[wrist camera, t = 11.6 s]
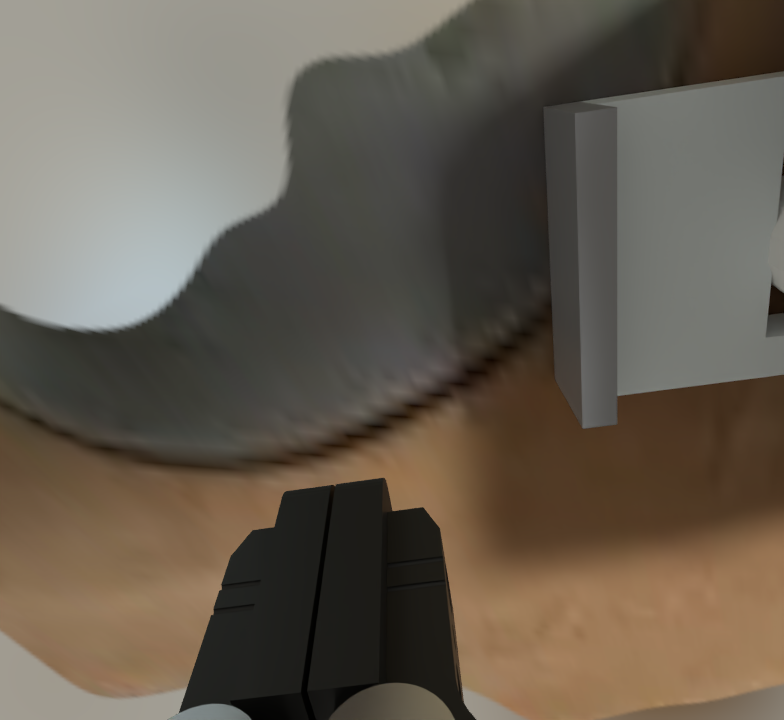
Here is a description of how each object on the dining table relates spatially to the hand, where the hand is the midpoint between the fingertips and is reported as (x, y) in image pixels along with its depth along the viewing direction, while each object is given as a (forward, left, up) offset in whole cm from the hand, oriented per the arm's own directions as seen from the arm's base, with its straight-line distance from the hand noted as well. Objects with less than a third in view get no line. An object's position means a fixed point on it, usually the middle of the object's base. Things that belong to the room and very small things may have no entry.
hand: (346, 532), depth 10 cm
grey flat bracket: (-18, +3, -22) cm, 28 cm away
